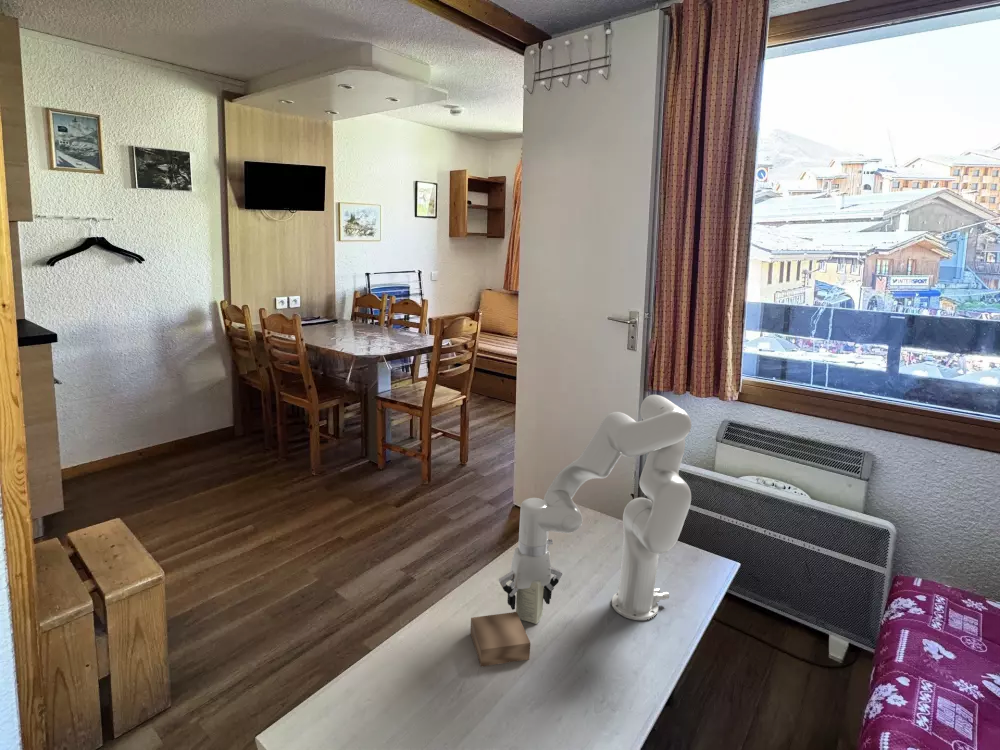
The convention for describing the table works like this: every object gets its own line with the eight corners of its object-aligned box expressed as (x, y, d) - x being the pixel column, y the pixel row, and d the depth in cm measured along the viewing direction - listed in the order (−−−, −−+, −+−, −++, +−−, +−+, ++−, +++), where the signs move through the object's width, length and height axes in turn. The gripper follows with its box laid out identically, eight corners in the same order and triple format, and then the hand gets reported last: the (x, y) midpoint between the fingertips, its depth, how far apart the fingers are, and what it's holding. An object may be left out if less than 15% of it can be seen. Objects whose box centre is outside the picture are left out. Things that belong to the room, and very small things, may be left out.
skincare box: (542, 615, 164) (545, 575, 161) (536, 625, 160) (539, 583, 157) (520, 608, 167) (523, 568, 164) (514, 617, 163) (516, 577, 160)
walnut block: (515, 628, 159) (516, 611, 158) (529, 660, 148) (530, 642, 147) (470, 634, 156) (470, 617, 155) (480, 667, 145) (481, 649, 144)
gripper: (558, 534, 164) (554, 591, 169) (496, 542, 159) (493, 600, 163) (569, 549, 157) (564, 607, 162) (505, 557, 152) (502, 617, 156)
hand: (529, 603), depth 163 cm, fingers open, 9 cm apart
